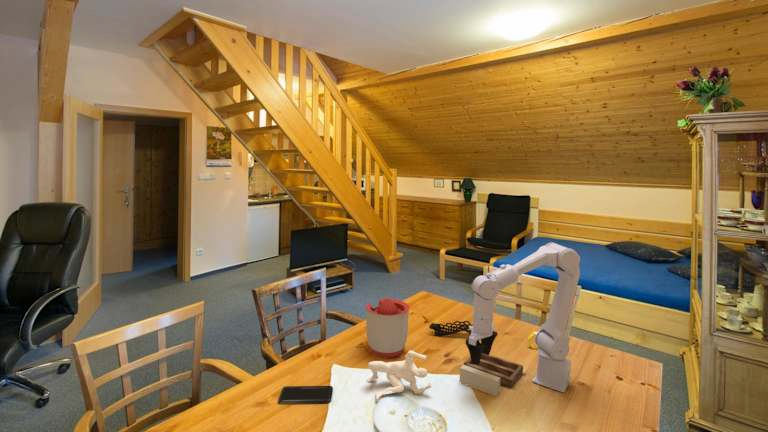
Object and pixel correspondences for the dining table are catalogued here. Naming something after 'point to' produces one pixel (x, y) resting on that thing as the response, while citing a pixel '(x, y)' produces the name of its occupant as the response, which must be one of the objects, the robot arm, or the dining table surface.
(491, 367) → the rack
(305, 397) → the phone
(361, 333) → the dining table surface
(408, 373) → the person figurine
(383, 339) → the citrus juicer
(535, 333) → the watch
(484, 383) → the clay strip
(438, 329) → the decorative element
